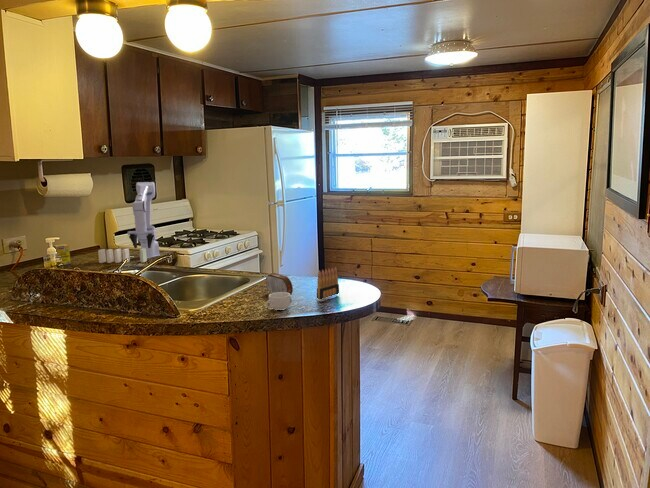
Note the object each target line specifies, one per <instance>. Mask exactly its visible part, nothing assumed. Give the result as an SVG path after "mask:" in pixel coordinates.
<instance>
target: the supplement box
mask: <svg viewBox="0 0 650 488" xmlns="http://www.w3.org/2000/svg"><path fill="white" fill-rule="evenodd" d="M53 247H54V248H55V249H56V252H57V254H58V255H60V256H61V259H62V264H63V266H62V267H65V266H66V267H67V266H71V265H72V264H71V255H70V254H71V253H70V245H68V244H64V243H63V244H56V245H53V246H52V248H53Z"/></svg>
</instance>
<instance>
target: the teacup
mask: <svg viewBox="0 0 650 488" xmlns="http://www.w3.org/2000/svg"><path fill="white" fill-rule="evenodd" d="M290 304H291V296H290V293H287V292H276V293H272V294H271V293H270V294H268V300H267V301H266V304H265V306H266V307H267V308H270V309H272V308H273V309H283V308H287V307H288V308H289V307H290ZM288 308H287V309H288ZM273 309H272V310H273Z"/></svg>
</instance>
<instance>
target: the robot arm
mask: <svg viewBox="0 0 650 488" xmlns="http://www.w3.org/2000/svg"><path fill="white" fill-rule="evenodd" d="M135 189H136V194H137V195H135V201H134V202H132V205H131V207H132V213H133V216H134V225H135V230H132V231H131V230H129V231H127V235H128V238H129V239H130V241H131V242H132V245H133V248H134V249H137V248H138V242H139V243H140V250H141V249H143V248H146V255H147V259H151V258H155V257H159V256H161V254H160V246H159V242H158V241H157V230H156V227H155V226H154V225H152V220H151V219H152V200H153V199H154V198H155V197H156V184H155V182H154V181H150V182H149V181H146V182H145V181H144V182H143V181H142V182H141V181H140V182H139V181H138V182H136V183H135ZM138 258H140V255H138Z"/></svg>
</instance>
